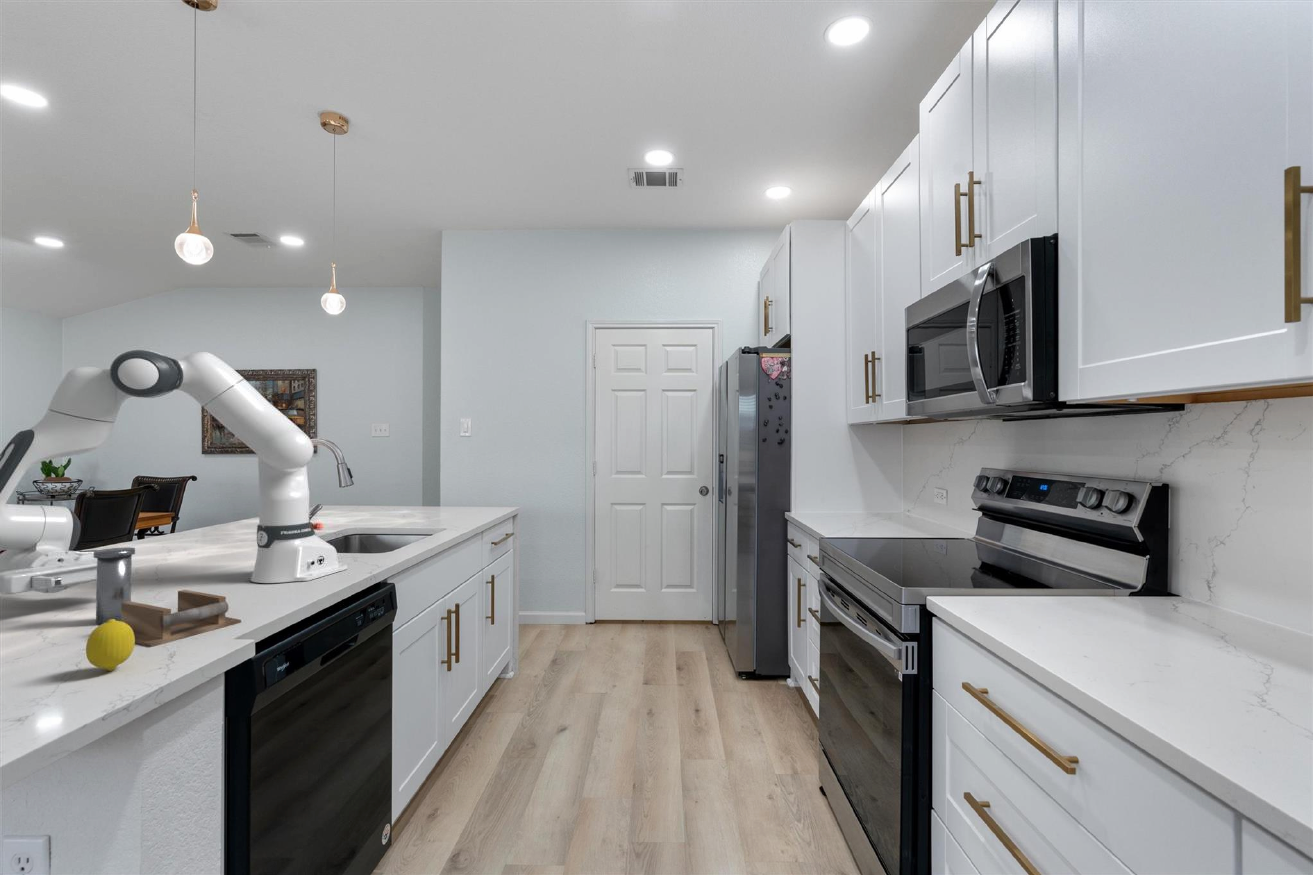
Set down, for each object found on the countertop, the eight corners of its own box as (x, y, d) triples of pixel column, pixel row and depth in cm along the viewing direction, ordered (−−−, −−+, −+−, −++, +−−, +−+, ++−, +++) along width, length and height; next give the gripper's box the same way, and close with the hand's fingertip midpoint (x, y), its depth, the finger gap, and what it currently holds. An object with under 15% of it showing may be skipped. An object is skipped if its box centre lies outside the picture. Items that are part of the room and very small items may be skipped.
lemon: (110, 678, 87) (111, 625, 87) (74, 677, 87) (75, 624, 87) (144, 664, 93) (144, 614, 93) (110, 663, 93) (111, 613, 93)
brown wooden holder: (193, 613, 120) (194, 586, 120) (241, 622, 114) (241, 594, 114) (102, 635, 106) (102, 605, 106) (150, 646, 100) (151, 615, 100)
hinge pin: (123, 614, 118) (124, 546, 118) (140, 618, 116) (141, 548, 116) (85, 623, 113) (86, 551, 113) (102, 627, 110) (104, 554, 110)
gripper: (-19, 565, 114) (16, 572, 108) (111, 548, 133) (146, 553, 127) (-20, 597, 114) (15, 606, 108) (110, 575, 133) (146, 581, 127)
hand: (87, 577), depth 118 cm, fingers open, 8 cm apart
